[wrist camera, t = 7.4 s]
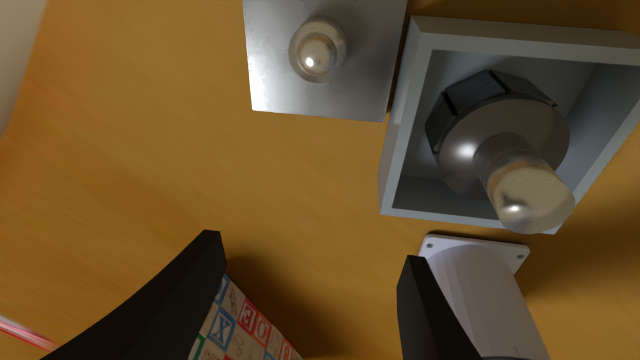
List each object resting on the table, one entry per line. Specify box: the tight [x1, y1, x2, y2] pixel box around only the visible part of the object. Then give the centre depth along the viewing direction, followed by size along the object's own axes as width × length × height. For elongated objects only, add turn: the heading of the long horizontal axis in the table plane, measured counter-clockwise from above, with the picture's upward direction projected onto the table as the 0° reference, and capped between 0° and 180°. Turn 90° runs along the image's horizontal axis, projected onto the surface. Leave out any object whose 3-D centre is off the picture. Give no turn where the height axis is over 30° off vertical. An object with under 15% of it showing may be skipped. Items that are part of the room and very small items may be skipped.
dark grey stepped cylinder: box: [424, 69, 576, 234], centre depth 15 cm, size 6×6×8 cm
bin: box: [378, 15, 640, 235], centre depth 17 cm, size 10×10×4 cm
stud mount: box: [242, 0, 408, 123], centre depth 16 cm, size 8×8×4 cm
